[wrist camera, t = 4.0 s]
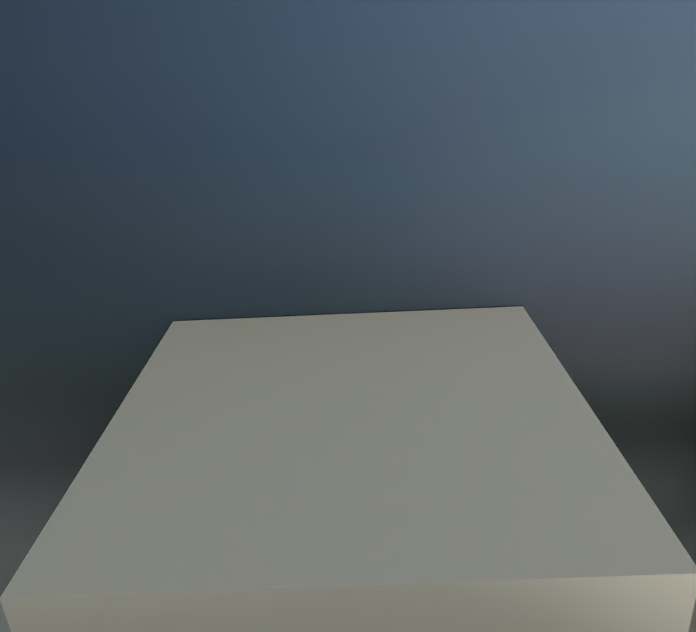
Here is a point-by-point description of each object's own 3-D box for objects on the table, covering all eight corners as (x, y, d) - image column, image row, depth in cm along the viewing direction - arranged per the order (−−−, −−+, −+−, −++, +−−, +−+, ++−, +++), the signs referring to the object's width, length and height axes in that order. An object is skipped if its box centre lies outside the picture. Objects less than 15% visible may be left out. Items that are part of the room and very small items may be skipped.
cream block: (173, 321, 11) (-1, 599, 6) (522, 306, 11) (701, 572, 5) (216, 584, 13) (125, 964, 8) (505, 574, 13) (618, 951, 8)
